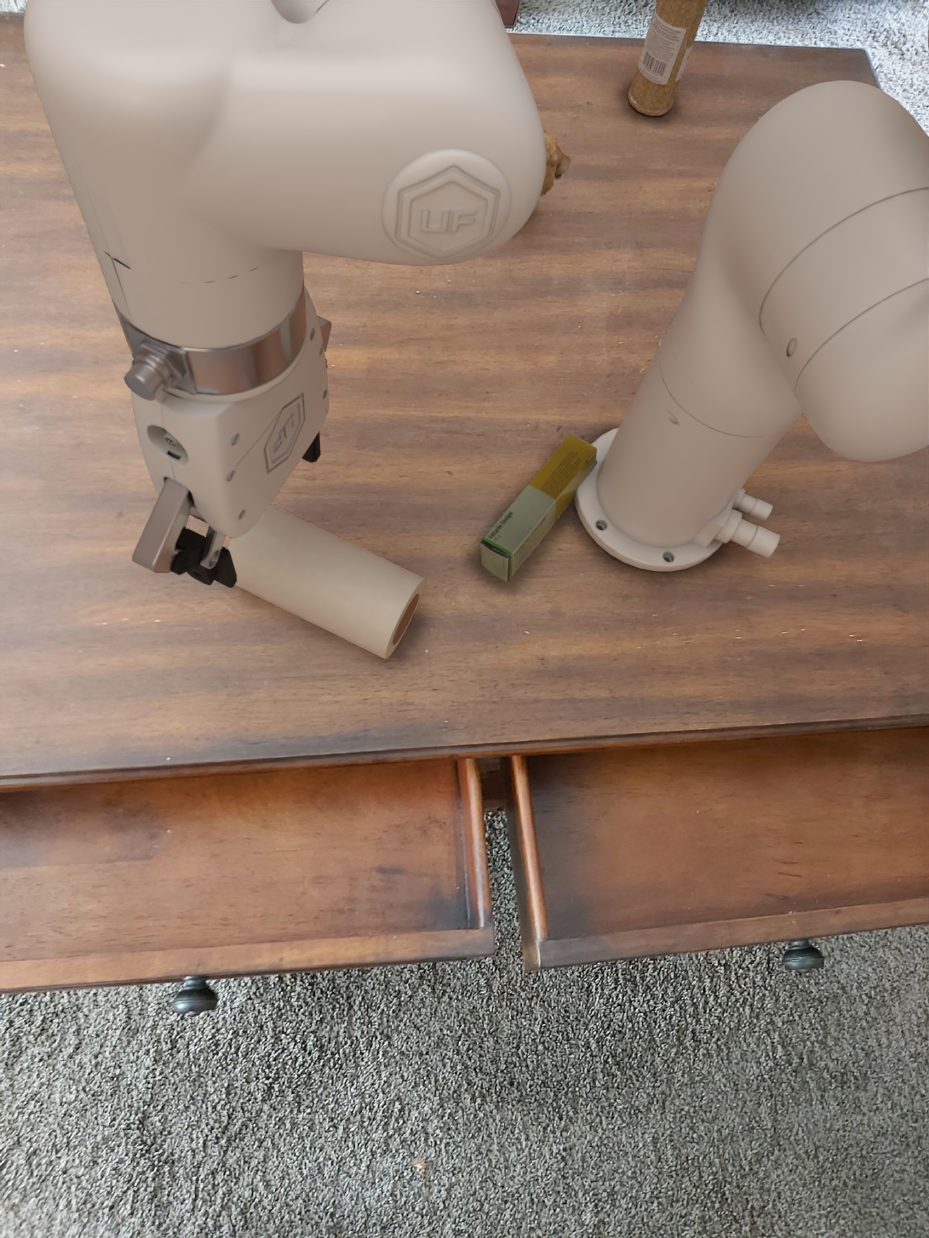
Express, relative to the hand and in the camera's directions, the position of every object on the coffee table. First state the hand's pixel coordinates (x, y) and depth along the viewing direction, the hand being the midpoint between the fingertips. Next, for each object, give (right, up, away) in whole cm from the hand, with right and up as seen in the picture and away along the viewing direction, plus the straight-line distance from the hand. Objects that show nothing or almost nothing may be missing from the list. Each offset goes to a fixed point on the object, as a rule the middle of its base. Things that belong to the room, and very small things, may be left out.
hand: (255, 509), depth 50 cm
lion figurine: (+15, +32, +25) cm, 43 cm away
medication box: (+18, 0, +14) cm, 23 cm away
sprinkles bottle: (+31, +44, +32) cm, 62 cm away
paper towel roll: (+9, -7, +5) cm, 12 cm away
